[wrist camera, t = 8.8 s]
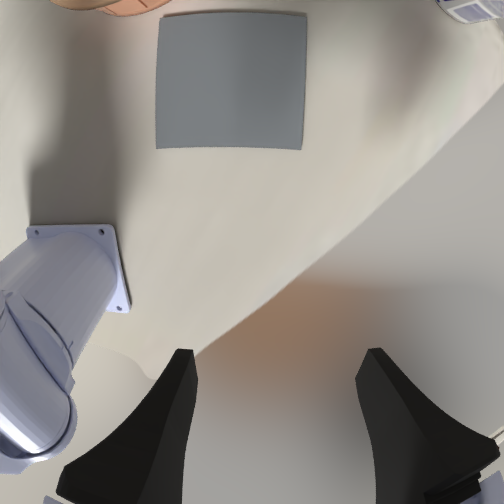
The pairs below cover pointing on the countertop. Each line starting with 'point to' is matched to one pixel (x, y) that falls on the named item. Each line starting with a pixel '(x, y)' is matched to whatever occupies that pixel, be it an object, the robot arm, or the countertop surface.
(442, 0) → the energy drink
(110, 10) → the bowl
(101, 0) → the lid
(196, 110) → the mat
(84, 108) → the countertop surface
